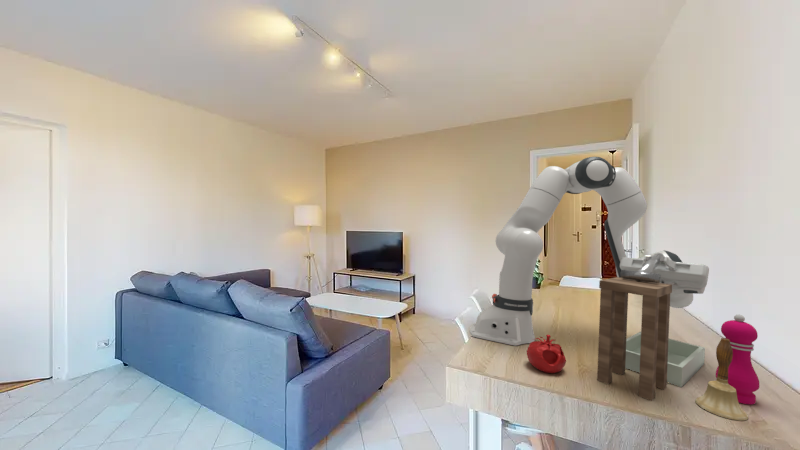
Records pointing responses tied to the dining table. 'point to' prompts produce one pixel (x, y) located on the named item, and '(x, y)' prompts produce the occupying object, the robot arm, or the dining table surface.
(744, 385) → the pepper mill
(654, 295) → the stand
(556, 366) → the pomegranate
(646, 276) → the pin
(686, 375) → the tray
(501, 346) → the dining table surface
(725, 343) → the hand bell
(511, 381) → the dining table surface
